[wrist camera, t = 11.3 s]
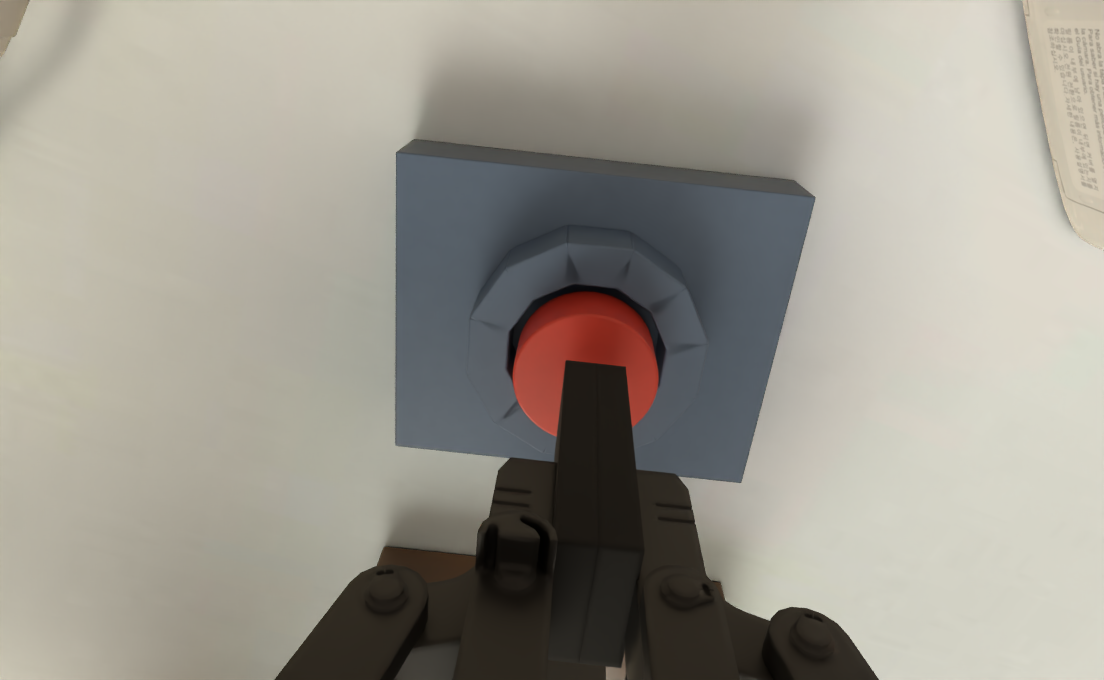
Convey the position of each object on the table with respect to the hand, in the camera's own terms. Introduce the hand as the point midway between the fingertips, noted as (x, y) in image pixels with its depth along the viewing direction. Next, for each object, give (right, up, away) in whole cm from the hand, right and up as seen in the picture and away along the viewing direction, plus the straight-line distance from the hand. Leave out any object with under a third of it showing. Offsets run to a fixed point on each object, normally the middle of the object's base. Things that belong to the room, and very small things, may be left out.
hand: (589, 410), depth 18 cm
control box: (0, +3, +6) cm, 7 cm away
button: (0, +1, +3) cm, 3 cm away
